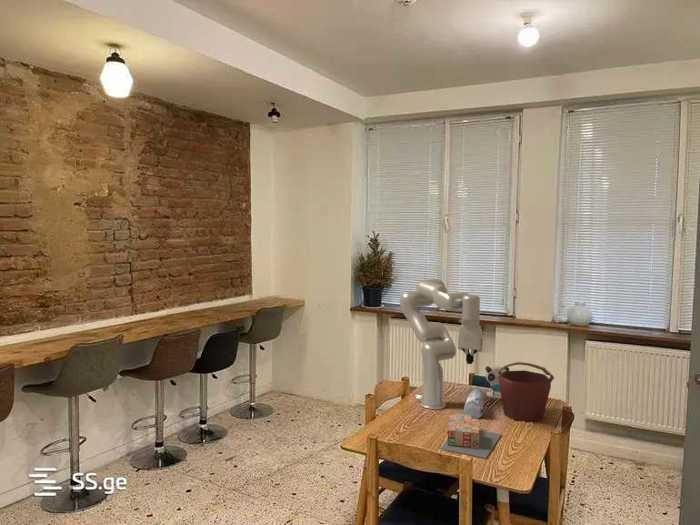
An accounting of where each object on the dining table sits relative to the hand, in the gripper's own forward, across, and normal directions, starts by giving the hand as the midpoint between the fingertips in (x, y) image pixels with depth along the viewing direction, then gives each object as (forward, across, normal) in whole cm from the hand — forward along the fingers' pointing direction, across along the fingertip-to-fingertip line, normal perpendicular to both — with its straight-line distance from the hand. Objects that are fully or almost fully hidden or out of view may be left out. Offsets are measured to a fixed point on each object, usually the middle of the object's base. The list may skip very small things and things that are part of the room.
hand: (469, 363), depth 232 cm
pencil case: (+27, -2, +16) cm, 32 cm away
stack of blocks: (+23, -3, -20) cm, 31 cm away
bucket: (+27, +20, +20) cm, 39 cm away
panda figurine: (+27, +2, +46) cm, 54 cm away
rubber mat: (+27, +7, -21) cm, 35 cm away
